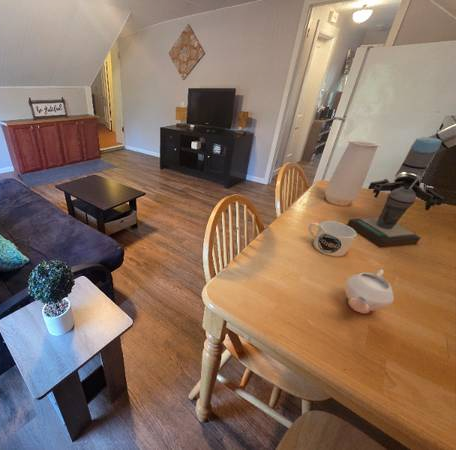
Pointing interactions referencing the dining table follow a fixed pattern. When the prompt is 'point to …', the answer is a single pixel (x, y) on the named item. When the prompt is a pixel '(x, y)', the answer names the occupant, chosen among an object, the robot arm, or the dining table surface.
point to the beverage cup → (396, 206)
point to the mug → (333, 237)
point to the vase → (351, 172)
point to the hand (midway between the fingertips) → (401, 199)
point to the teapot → (368, 292)
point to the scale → (383, 233)
